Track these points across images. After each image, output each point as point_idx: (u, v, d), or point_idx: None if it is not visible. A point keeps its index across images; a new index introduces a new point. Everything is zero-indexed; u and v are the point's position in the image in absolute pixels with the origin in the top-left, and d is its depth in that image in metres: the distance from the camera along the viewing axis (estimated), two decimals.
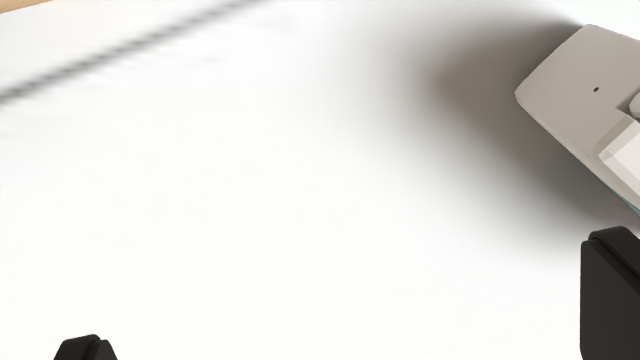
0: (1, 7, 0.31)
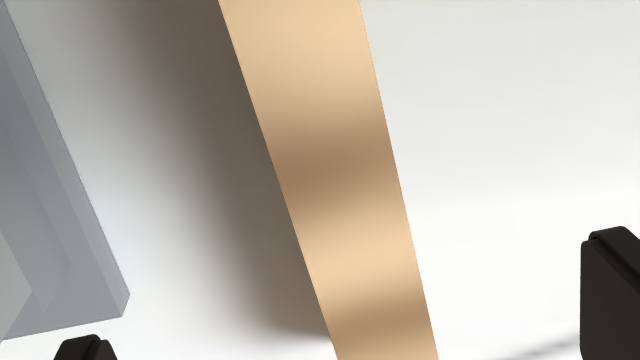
0: None
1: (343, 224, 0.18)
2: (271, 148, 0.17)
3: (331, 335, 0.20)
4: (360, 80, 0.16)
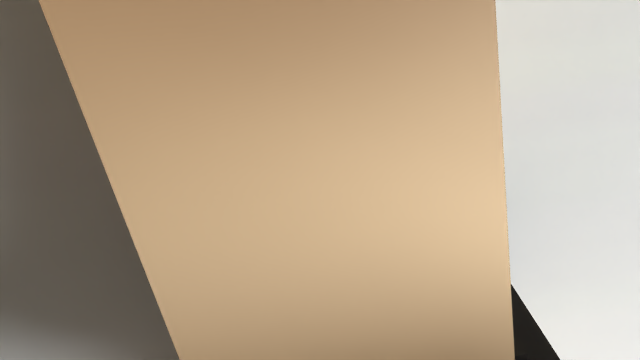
0: None
1: None
2: None
3: None
4: None
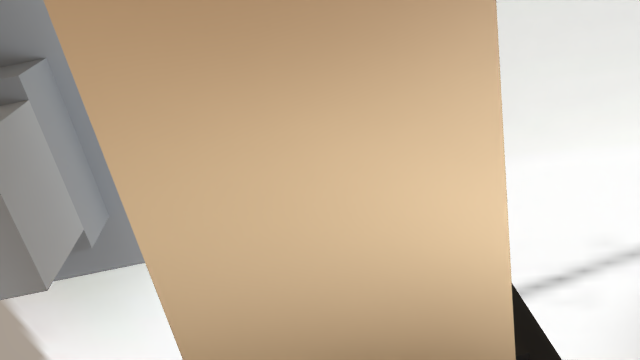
0: None
1: None
2: None
3: None
4: None
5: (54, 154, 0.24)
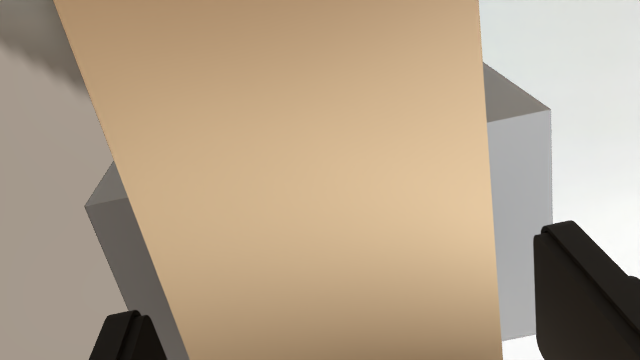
0: None
1: None
2: None
3: None
4: None
5: None
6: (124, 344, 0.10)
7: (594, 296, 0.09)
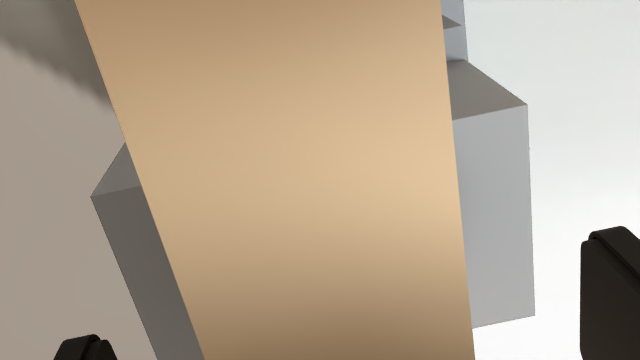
0: None
1: None
2: None
3: None
4: (438, 331, 0.08)
5: None
6: None
7: None
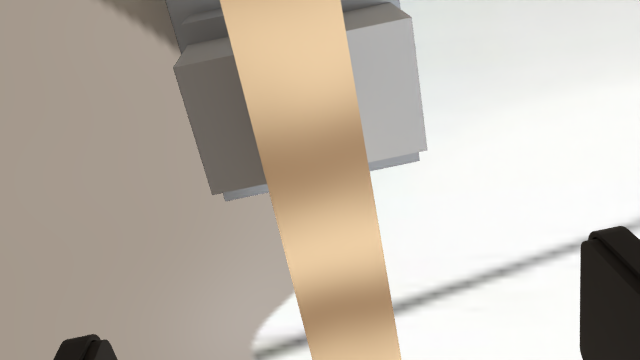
0: None
1: (319, 214, 0.20)
2: (259, 141, 0.19)
3: (303, 317, 0.22)
4: (341, 86, 0.18)
5: None
6: None
7: None
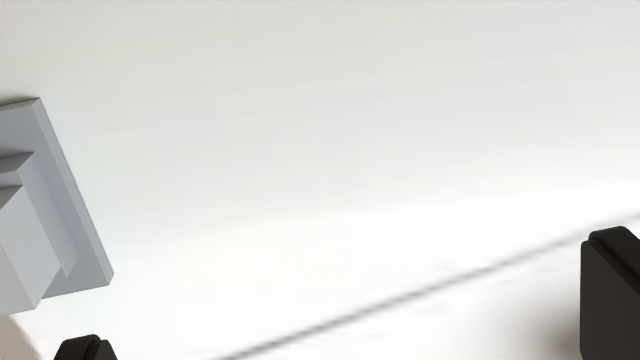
0: None
1: None
2: None
3: None
4: None
5: (40, 218, 0.36)
6: None
7: None
